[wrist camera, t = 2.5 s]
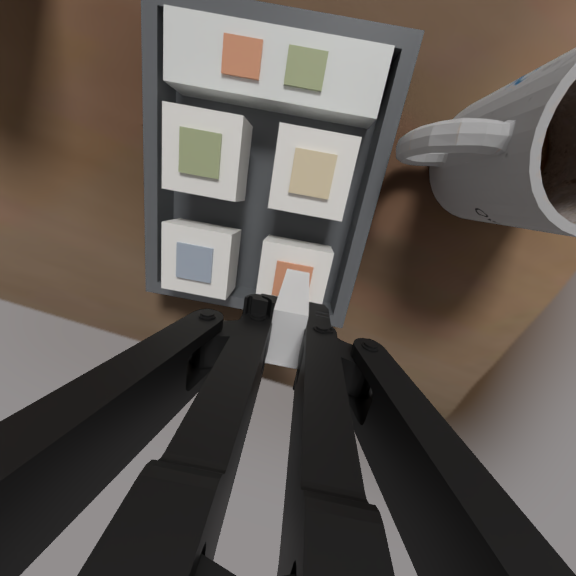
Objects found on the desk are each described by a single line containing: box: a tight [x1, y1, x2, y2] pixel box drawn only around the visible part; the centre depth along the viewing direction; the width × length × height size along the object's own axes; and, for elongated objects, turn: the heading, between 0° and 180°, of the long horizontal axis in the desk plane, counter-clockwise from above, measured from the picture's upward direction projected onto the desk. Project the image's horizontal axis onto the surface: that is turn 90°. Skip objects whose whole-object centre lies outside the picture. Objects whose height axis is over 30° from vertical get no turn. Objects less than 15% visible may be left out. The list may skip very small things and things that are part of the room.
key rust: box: [256, 235, 334, 304], centre depth 20 cm, size 5×5×3 cm
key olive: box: [162, 101, 253, 202], centre depth 18 cm, size 5×5×3 cm
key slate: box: [161, 218, 241, 300], centre depth 20 cm, size 5×5×3 cm
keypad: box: [141, 0, 424, 328], centre depth 20 cm, size 17×20×3 cm
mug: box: [396, 48, 576, 237], centre depth 15 cm, size 12×9×10 cm
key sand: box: [268, 122, 362, 222], centre depth 18 cm, size 5×5×3 cm
